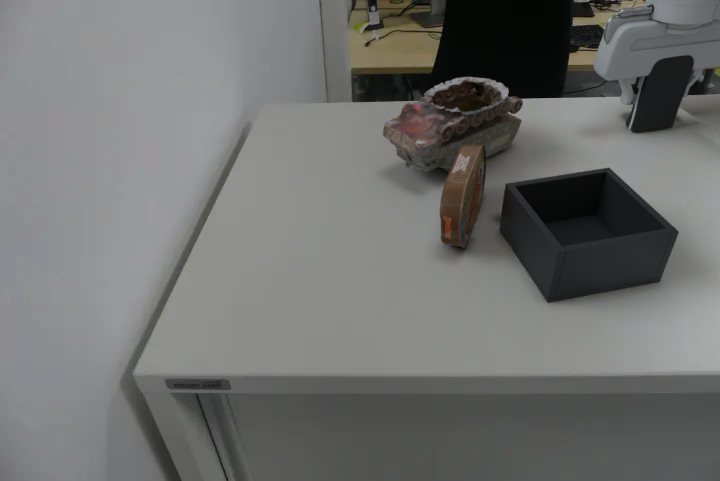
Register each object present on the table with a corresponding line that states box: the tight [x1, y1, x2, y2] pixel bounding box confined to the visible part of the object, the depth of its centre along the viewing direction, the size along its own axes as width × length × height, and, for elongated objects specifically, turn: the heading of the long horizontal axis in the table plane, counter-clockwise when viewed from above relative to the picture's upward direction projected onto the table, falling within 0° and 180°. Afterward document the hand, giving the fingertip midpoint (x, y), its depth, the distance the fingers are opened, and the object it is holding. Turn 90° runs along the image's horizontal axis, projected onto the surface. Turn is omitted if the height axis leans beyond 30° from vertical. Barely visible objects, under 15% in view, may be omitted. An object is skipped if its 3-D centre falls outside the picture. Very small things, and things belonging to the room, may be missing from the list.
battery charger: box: [625, 55, 694, 133], centre depth 82 cm, size 7×4×11 cm, turn 99°
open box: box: [499, 167, 680, 303], centre depth 61 cm, size 13×13×7 cm
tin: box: [439, 145, 487, 248], centre depth 66 cm, size 15×3×8 cm, turn 160°
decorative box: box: [382, 76, 524, 173], centre depth 76 cm, size 13×20×10 cm, turn 120°
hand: (653, 100), depth 83 cm, fingers closed on battery charger, 7 cm apart
